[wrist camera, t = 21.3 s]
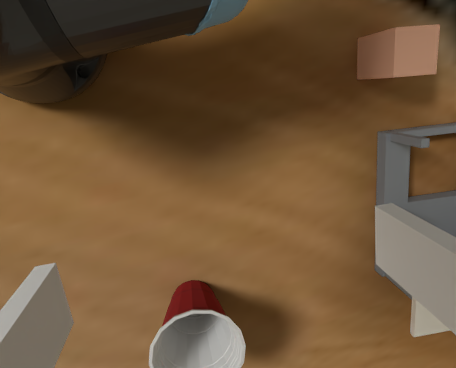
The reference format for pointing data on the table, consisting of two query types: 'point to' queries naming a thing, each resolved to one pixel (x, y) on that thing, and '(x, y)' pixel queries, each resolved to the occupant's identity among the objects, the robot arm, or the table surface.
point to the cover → (424, 321)
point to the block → (398, 52)
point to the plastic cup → (197, 332)
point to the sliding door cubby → (399, 180)
